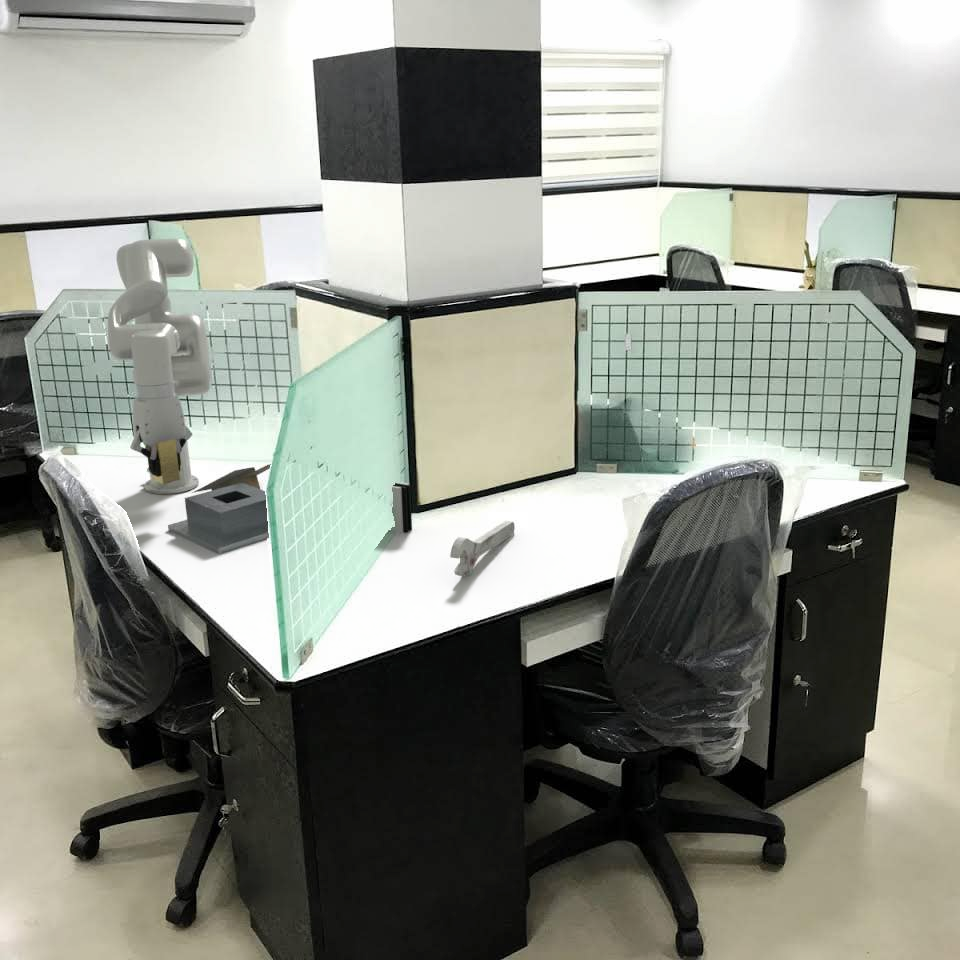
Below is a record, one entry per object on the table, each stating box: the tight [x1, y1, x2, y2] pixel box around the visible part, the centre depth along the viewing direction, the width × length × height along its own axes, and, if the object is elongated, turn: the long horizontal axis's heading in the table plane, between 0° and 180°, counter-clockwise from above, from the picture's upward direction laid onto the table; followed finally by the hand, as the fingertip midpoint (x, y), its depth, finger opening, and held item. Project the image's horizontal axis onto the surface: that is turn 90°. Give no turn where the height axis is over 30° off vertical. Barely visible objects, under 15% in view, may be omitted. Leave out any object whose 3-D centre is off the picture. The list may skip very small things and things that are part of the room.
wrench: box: [449, 520, 515, 577], centre depth 195 cm, size 8×2×30 cm
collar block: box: [167, 483, 269, 555], centre depth 212 cm, size 20×20×7 cm
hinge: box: [388, 481, 413, 534], centre depth 211 cm, size 14×5×10 cm, turn 74°
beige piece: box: [191, 463, 272, 494], centre depth 232 cm, size 16×9×15 cm
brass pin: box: [153, 439, 180, 484], centre depth 214 cm, size 4×4×10 cm
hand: (165, 471), depth 215 cm, fingers closed on brass pin, 4 cm apart
